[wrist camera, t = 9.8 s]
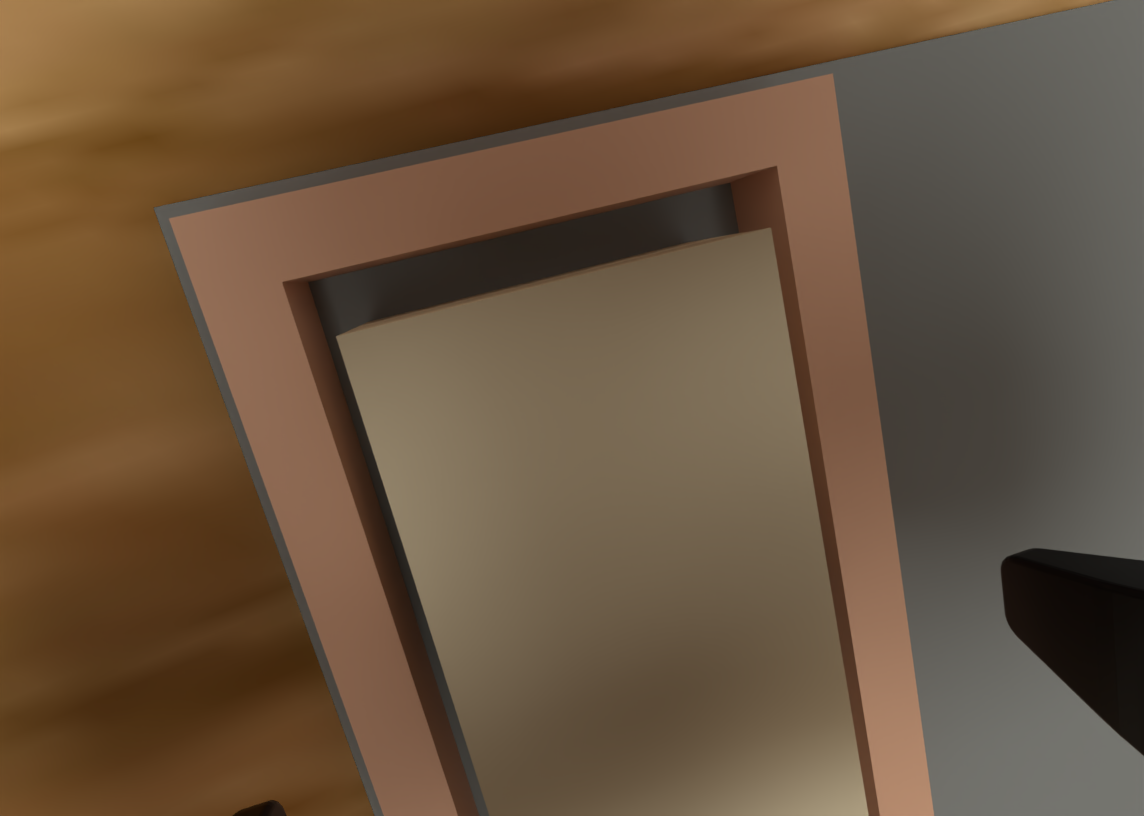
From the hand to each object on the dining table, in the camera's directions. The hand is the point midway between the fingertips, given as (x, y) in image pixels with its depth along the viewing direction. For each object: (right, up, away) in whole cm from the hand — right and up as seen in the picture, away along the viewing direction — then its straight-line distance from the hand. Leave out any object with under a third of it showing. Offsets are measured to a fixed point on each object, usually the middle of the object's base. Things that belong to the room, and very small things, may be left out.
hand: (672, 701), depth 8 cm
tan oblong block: (-1, 0, +3) cm, 3 cm away
